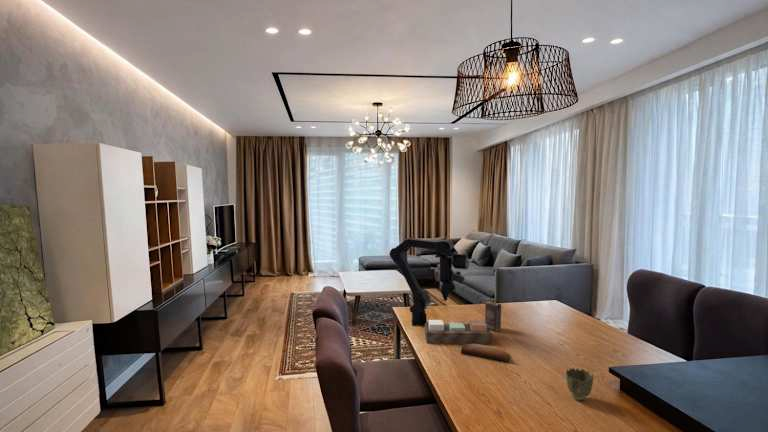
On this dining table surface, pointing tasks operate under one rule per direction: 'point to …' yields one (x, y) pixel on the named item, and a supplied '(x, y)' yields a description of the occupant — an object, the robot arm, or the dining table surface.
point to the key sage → (456, 327)
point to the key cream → (436, 325)
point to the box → (493, 316)
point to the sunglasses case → (485, 351)
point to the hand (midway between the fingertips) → (445, 300)
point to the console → (458, 336)
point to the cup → (579, 383)
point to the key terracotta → (478, 325)
